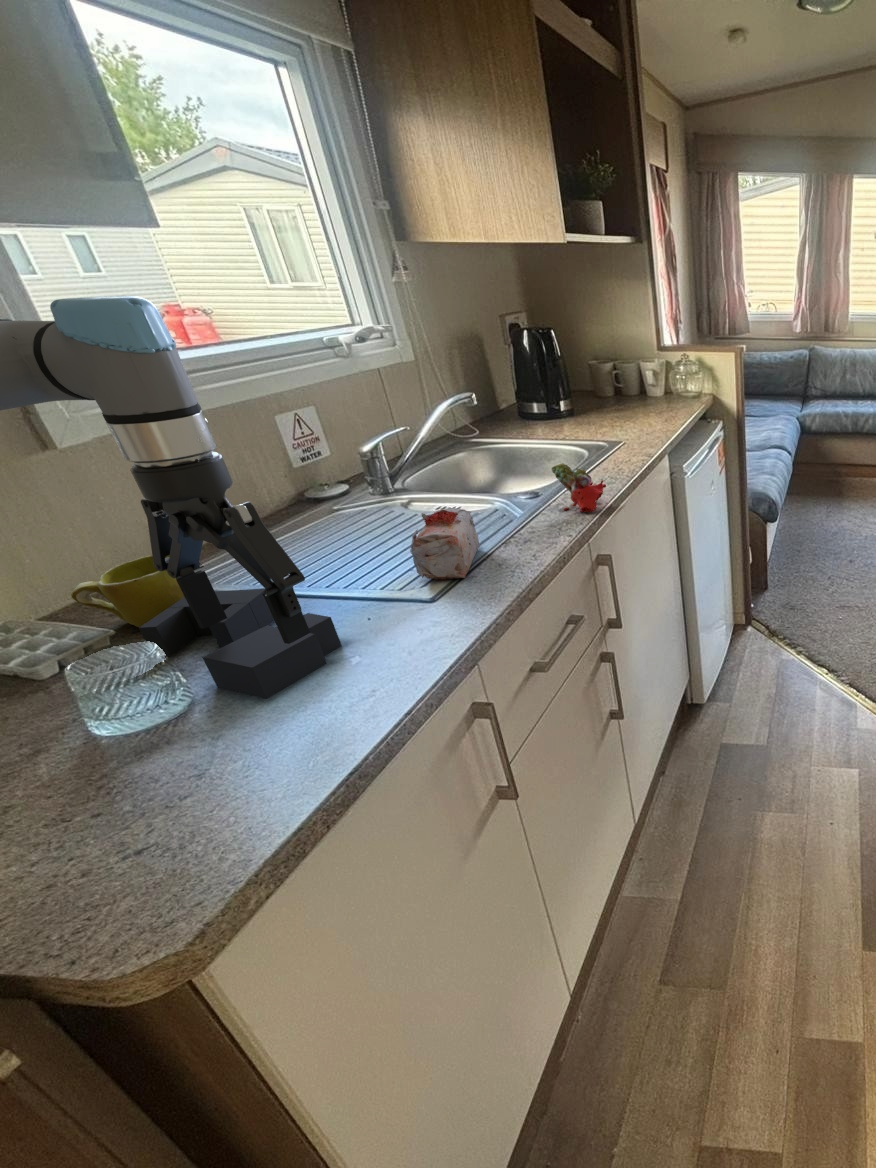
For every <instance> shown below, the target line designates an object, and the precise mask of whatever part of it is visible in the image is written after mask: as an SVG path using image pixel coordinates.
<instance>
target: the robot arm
mask: <svg viewBox="0 0 876 1168" xmlns="http://www.w3.org/2000/svg"><path fill="white" fill-rule="evenodd" d="M49 305H50V306H49V307H50V312H51V313H52V318H53V320H12V319H9V318H0V411H6V410H11V409H16V408H21V407H27V406H32V405H33V406H34V405H38V404H44V403H52V402H63V401H95V403H96V404H97V405H98V408H99V409H100V411H101V414H102V417H103V419H104V421H105V424H106V425H107V428H108V430H109V432H110V434H111V437H112V438H113V439H114V442H115V444H116V446H117V448H118V450H119V452H120V453H121V455H122V458H123V460H124V461H126V462H128V463H134V464H132V465H131V468H130V469H129V471H130V473H131V475H132V477H133V479H134V481H135V482H136V485H137V487H138V490H139V491H140V493H141V495H142V497H143V498H142V499H140V504H141V507H142V509H143V511H144V514H145V516H146V519H147V527H148V534H149V541H150V547H151V548H150V549H151V556H153V563H154V567H155V568H156V569H157V570H158V571H160V572H161V571H164V570H166V571H167V572H168V574H169V575H170V576H171V577H172V578H176V581H177V583H178V585H179V587H180V589H181V591H182V593H183V595H184V596H185V598H186V600H187V602H188V604H189V606H190V608H191V610H192V612H193V614H194V616H195V618H196V620H197V622H198V624H199V626H200V628H207V627H209V626H211V625H213V624H216V623H218V622H220V621H222V620H224V619H226V618H227V616H226V614H225V612H224V610H223V608H222V606H221V604H220V601H219V599H218V597H217V595H216V593H215V591H216V590H215V589H214V587H213V585H212V582H211V581H210V578H209V577H208V574H207V572H206V571H205V570H200V569H202V568H204V567H205V566H204V565H203V564H202V563H201V562H200V558H201V554H202V549H203V544H204V542H206V543H209V544H212V545H213V546H214V547H215V548H217V549H219V550H223V551H224V550H225V551H226V552H227V553H228V554H229V555H230V556H231V557H232V558H233V559H234V560H235V561H236V562H237V563H238V564H239V565H240V567H242V568H243V569H244V570H245V571H246V572H247V573H248V574H249V575H251V576H252V578H253V579H254V580H256V581H257V582H258V583H259V584H260V585H261V586H262V587H263V588H265V591H264V592H263V594H262V595H263V596H264V598H265V600H266V603H267V605H268V607H269V609H270V612H271V614H272V616H273V619H274V620H273V621H274V623H275V626H276V627H277V628H278V630H279V632H280V634H281V637H282V639H283V641H284V643H286V644H290V643H292V642H294V641H296V640H298V639H300V638H302V637H304V636H305V635H307V634H309V633H310V630H309V628H308V625H307V623H306V621H305V618H304V616H303V615H304V613H303V611H302V606H301V604H300V602H299V599H298V596H297V595H296V592H295V590H294V586H296V585H299V584H301V583H303V582H305V581H306V577H305V575H304V574H303V573H302V571H301V569H299V567H298V566H297V565H296V563H295V562H294V561H293V560H292V558H291V557H290V556H289V555H288V553H287V552H286V551H285V549H284V548H283V547H282V546H281V544H280V543H279V541H278V540H277V539H276V538H275V536H274V535H273V534H272V532H271V531H270V530H269V529H268V527H267V526H266V525H265V524H264V522H263V521H262V518H261V517H260V515H259V513H258V511H257V510H256V507H255V505H254V504H253V503H252V502H250V501H246V502H243V503H239V504H236V505H233V504H232V503H231V502H230V501H229V499H228V498H227V496H226V492H227V490H228V489H230V488H231V487H232V486H233V482H234V481H233V478H232V476H231V473H230V471H229V469H228V467H227V464H226V463H225V460H224V457H223V455H222V454H221V453H219V452H216V451H214V450H216V449H217V446H218V445H217V442H216V440H215V438H214V435H213V433H212V430H211V428H210V426H209V421H208V418H206V417H205V415H204V413H203V409H202V406H201V404H200V403H199V400H198V398H197V395H196V393H195V389H194V388H193V386H192V383H191V381H190V378H189V376H188V373H187V371H186V369H185V367H184V364H183V362H182V359H181V356H180V354H179V351H178V349H177V343H176V340H175V339H174V337H172V335H171V333H170V331H169V329H168V327H167V325H166V323H165V321H164V320H163V317H162V315H161V314H160V312H159V310H158V308H157V307H156V305H155V304H154V303H152V302H151V301H150V300H148V299H146V298H144V297H141V296H127V295H125V296H91V297H90V296H89V297H71V298H67V297H66V298H58V299H54V300H53V301H51V303H50V304H49ZM168 555H170V556H169V557H168V558H165V556H168Z"/></svg>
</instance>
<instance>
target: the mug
mask: <svg viewBox="0 0 876 1168" xmlns="http://www.w3.org/2000/svg"><path fill="white" fill-rule="evenodd" d="M169 556H170V555H168V556H165V558H168V557H169ZM94 593H97V594H100V595H101V596H103V597H104V598H105V599H106V600H107V601H105V600H103V599H100V598H96V597H92V594H94ZM70 596H71V599H72V600H74V601H75V602H77V603H78V604H81V605H84V606H86V607H90V608H95V609H98V610H99V609H100V610H104V611H106V612H109V613H112V615H113V614H114V615H115V616H116V617H117V618H119V619H121V620H122V621H124V622H126V623H127V624H129V625H132V626H135V627H137V628H139V627H141V626H142V625H144V624H145V623H147V622H148V621H150V620H151V619H153V618H154V617H156V616H157V615H159V614H160V613H162V612H163V611H165V610H166V609H167V608H169V607H170V606H172V605H173V604H175V603H176V602H178V601H179V600H181V599H182V598H184V597H185V596H184V595H183V593H182V591H181V589H180V587H179V585H178V583H177V581H176V578H172V577H171V576H170V575H169V574H168V572H167V571H166V570H164V571H161V572H160V571H158V570H157V569H156V568H155V567H154V563H153V556H152V555H146V556H141V557H138V558H135V559H133V560H130V561H125V562H123V563H120V564H118V565H116V566H113V567H111V568H110V569H108V570H106V571H105V572H104V573H103V574H102V575H101V576H100V577H99V580H97V581H96V580H95V581H92V580H90V581H84V582H80V583H78V584H77V585H76V586H75V588H74V589H73V590H72V592H71V594H70Z"/></svg>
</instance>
